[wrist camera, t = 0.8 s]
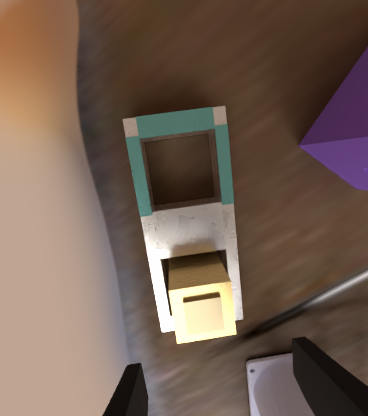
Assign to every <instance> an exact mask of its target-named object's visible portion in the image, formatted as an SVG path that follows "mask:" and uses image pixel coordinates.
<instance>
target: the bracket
mask: <svg viewBox="0 0 368 416" xmlns="http://www.w3.org/2000/svg"><path fill="white" fill-rule="evenodd" d="M298 146H299V147H300V148H302V149H303V150H305V151H306V152H307V153H309V154H310V155H311V156H313V157H314V158H315V159H317V160H318V161H319V162H321V163H322V164H323V165H325V166H326V167H327V168H329V169H330V170H331V171H333V172H334V173H335V174H337V175H338V176H339V177H341V178H342V179H344V180H345V181H346V182H348V183H349V184H350V185H352V186H353V187H354V188H356V189H361V190H368V47H367V48H366V50H365V51H364V53H363V54H362V55H361V57H360V58H359V60H358V61H357V63H356V64H355V65H354V67H353V68H352V70H351V71H350V72H349V74H348V75H347V77H346V78H345V80H344V81H343V82H342V84H341V85H340V87H339V88H338V90H337V91H336V92H335V94H334V95H333V97H332V98H331V100H330V101H329V102H328V104H327V105H326V107H325V108H324V110H323V111H322V112H321V114H320V115H319V117H318V118H317V120H316V121H315V122H314V124H313V125H312V127H311V128H310V129H309V131H308V132H307V134H306V135H305V137H304V138H303V139H302V141H301V142H300V144H299V145H298Z"/></svg>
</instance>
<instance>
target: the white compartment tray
mask: <svg viewBox="0 0 368 416" xmlns="http://www.w3.org/2000/svg"><path fill="white" fill-rule="evenodd" d="M123 124H124V130H125V135H126V137H125V138H126V144H127V149H128V154H129V160H130V165H131V171H132V176H133V181H134V187H135V192H136V198H137V203H138V208H139V214H140V217H141V222H142V227H143V233H144V238H145V243H146V249H147V254H148V260H149V265H150V271H151V276H152V281H153V287H154V292H155V298H156V303H157V308H158V314H159V319H160V325H161V330H162V332H167V331H173V330H175V326H174V320H173V315H172V309H171V303H170V297H169V288H168V282H167V276H166V270H165V264H164V258H171V257H178V256H184V255H191V254H198V253H204V252H211V251H217V250H220V253H221V262H222V264H223V266H224V268H225V270H226V272H227V274H228V276H229V278H230V280H231V284H232V294H233V305H234V315H235V320H241V319H243V310H242V298H241V286H240V274H239V262H238V251H237V239H236V227H235V215H234V195H233V183H232V171H231V159H230V147H229V135H228V124H227V121H226V109H225V106H220V107H207V108H199V109H192V110H184V111H176V112H168V113H161V114H153V115H145V116H138V117H135V118H128V119H123ZM203 134H208V137H209V147H210V157H211V166H212V176H213V186H214V195H215V197H210V198H203V199H196V200H189V201H182V202H175V203H168V204H161V205H155V204H154V198H153V192H152V186H151V180H150V175H149V169H148V163H147V157H146V151H145V145H144V142H151V141H158V140H166V139H173V138H181V137H188V136H196V135H203Z"/></svg>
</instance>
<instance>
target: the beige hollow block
mask: <svg viewBox="0 0 368 416" xmlns="http://www.w3.org/2000/svg"><path fill="white" fill-rule="evenodd" d="M169 297H170V303H171V309H172V315H173V320H174V326H175V332H176V338H177V344H179V343H185V342H192V341H198V340H204V339H210V338H216V337H222V336H228V335H234V334H236V326H235V315H234V305H233V294H232V284H231V280H230V278H229V276H228V274H227V272H226V270H225V268H224V266H223V264H222V262H221V260H220V258H219V256H218V254H217V252H216V251H211V252H204V253H198V254H191V255H184V256H178V257H171V258H169Z"/></svg>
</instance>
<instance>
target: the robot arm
mask: <svg viewBox="0 0 368 416" xmlns="http://www.w3.org/2000/svg"><path fill="white" fill-rule="evenodd" d="M292 350H293V353H289V354H283V355H277V356H271V357H265V358H259V359H253V360H249V361H247V363H246V370H247V381H248V393H249V405H250V416H368V386H367V385H365V384H364V383H363V382H361V381H360V380H359V379H357V378H356V377H355V376H353V375H352V374H351V373H350V372H348V371H347V370H346V369H344V368H343V367H342V366H341V365H339V364H338V363H337V362H336V361H334V360H333V359H332V358H331V357H329V356H328V355H327V354H326V353H324V352H323V351H322V350H321V349H320V348H318V347H317V346H316V345H315V344H313V343H312V342H311V341H310V340H308V339H307V338H306V337H299V338H293V339H292ZM147 414H148V394H147V389H146V384H145V380H144V375H143V370H142V365H141V363H137V364H130V365H128V366H127V367H126V368H125V371H124V373H123V375H122V377H121V380H120V382H119V384H118V386H117V388H116V390H115V392H114V394H113V396H112V398H111V400H110V402H109V404H108V406H107V408H106V410H105V412H104V414H103V415H102V416H147Z"/></svg>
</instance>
